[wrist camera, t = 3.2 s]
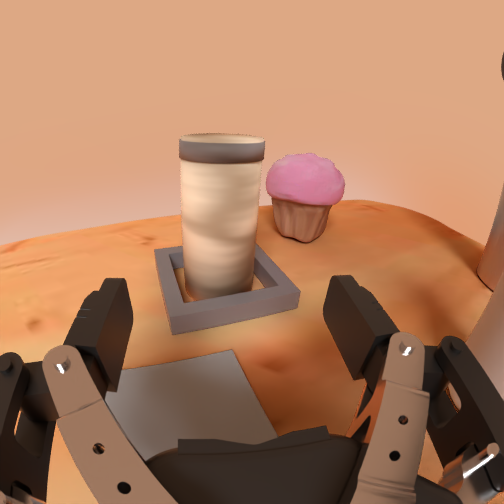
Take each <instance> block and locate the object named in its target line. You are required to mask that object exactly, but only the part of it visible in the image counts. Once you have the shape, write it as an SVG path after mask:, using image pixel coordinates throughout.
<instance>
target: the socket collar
mask: <svg viewBox="0 0 504 504" xmlns="http://www.w3.org/2000/svg"><path fill="white" fill-rule="evenodd" d="M154 252H155V261H156V268H157V273H158V277H159V282H160V287H161V291H162V296H163V300H164V304H165V309H166V313H167V317H168V321H169V325H170V329H171V332H172V335H175V334H181V333H186V332H191V331H197V330H202V329H207V328H212V327H217V326H222V325H227V324H231V323H236V322H241V321H245V320H250V319H254V318H258V317H263V316H267V315H271V314H275V313H279V312H283V311H287V310H291V309H295V308H297V307H298V302H299V297H300V292H301V291H300V290H299V289H298V288H297V287H296V286H295V285H294V284H293V283H292V281H291V280H290V279H289V278H288V277H287V276H286V275H285V274H284V273H283V272H282V271H281V270H280V268H279V267H278V266H277V265H276V264H275V263H274V262H273V261H272V260H271V259H270V258H269V257H268V256H267V254H266V253H265V252H264V251H263V250H262V249H261V248H260V247H259V246H258V245H257V244H256V245H255V258H254V270H253V272H254V274H255V275H256V276H257V277H258V279H259V280H260V281H261V283H262V284H263V285H264V287H265V288H264V289H259V290H254V291H249V292H244V293H238V294H233V295H227V296H222V297H216V298H211V299H205V300H199V301H193V302H188V303H184V302H183V299H182V296H181V293H180V290H179V287H178V284H177V281H176V277H175V274H174V271H173V269H176V268H183V267H184V260H183V246H178V247H170V248H163V249H155V250H154Z"/></svg>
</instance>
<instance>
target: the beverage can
mask: <svg viewBox="0 0 504 504" xmlns="http://www.w3.org/2000/svg"><path fill="white" fill-rule="evenodd" d="M465 344H466V345H467V346H468V348H469V349H470V351H471V352H472V353H473V355H474V356H475V358H476V359H477V360H478V362H479V363H480V365H481V366H482V368H483V369H484V371H485V372H486V374H487V375H488V377H489V378H490V380H491V381H492V383H493V384H494V386H495V388H496V389H497V391H498V392H499V394H500V396H501V397H502V399H503V401H504V270H503V273H502V275H501V277H500V279H499V282H498V284H497V286H496V288H495V290H494V292H493V294H492V296H491V298H490V300H489V302H488V304H487V306H486V308H485V310H484V312H483V314H482V315H481V317H480V319H479V321H478V323H477V324H476V326H475V328H474V329H473V331H472V333H471V334H470V336H469V338H468V339H467V341H466V342H465ZM448 387H449V391H450V395H451V398H452V400H453V402H454V404H455V406H456V407H457V408H458V409H459V410H460V408H461V401H460V398H459V397H458V395H457V393H456V391H455V390H454V388H453V386H452V385H451V383H450V384H449V385H448Z"/></svg>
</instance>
